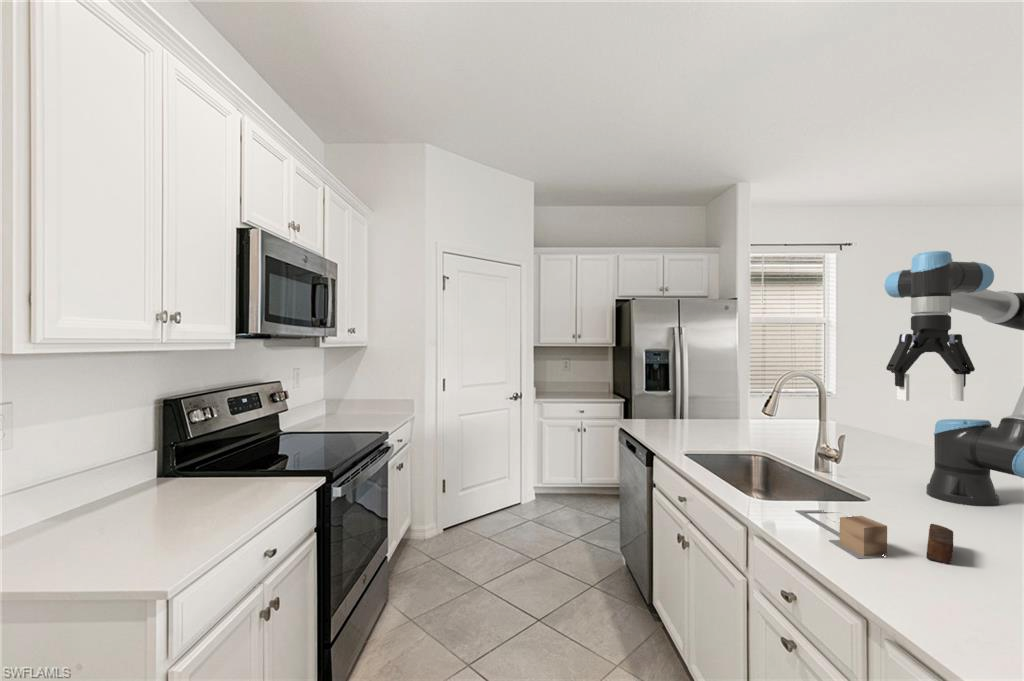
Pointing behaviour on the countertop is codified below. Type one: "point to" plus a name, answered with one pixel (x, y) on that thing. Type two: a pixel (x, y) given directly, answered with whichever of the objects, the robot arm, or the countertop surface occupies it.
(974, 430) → the robot arm
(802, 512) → the frame
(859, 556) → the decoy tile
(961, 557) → the countertop surface
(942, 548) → the brick
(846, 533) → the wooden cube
